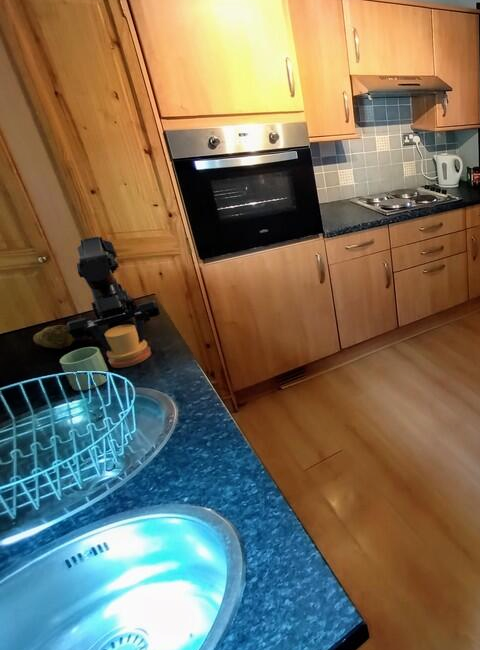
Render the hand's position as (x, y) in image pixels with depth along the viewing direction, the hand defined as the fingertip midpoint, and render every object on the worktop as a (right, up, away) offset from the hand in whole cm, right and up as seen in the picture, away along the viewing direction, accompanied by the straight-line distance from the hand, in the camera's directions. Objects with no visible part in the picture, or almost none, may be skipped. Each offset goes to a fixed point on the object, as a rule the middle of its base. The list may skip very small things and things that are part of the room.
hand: (125, 346), depth 121 cm
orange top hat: (-1, -3, +2) cm, 4 cm away
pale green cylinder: (-3, -8, -7) cm, 11 cm away
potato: (-25, -2, +7) cm, 26 cm away
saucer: (-1, -4, +3) cm, 5 cm away
